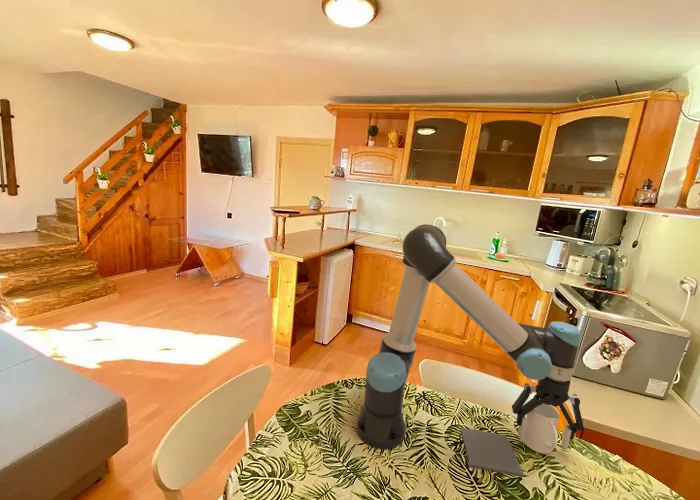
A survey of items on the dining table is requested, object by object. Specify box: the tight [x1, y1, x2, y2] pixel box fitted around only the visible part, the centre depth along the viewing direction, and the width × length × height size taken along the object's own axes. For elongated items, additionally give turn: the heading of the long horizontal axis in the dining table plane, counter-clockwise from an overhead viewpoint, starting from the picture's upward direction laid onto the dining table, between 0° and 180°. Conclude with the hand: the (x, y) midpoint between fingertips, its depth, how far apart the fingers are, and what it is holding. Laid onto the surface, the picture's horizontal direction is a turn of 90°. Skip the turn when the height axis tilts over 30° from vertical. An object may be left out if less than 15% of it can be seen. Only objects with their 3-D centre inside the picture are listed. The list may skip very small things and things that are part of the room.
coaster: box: [460, 427, 525, 478], centre depth 92 cm, size 14×14×1 cm
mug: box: [521, 403, 560, 455], centre depth 94 cm, size 12×8×12 cm
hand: (541, 440), depth 94 cm, fingers open, 11 cm apart
